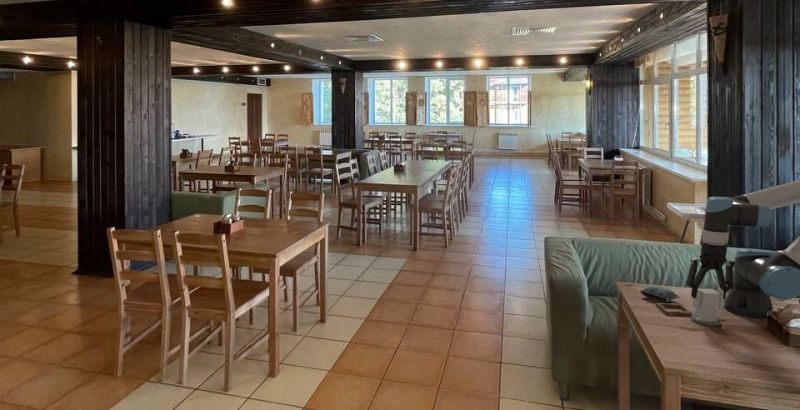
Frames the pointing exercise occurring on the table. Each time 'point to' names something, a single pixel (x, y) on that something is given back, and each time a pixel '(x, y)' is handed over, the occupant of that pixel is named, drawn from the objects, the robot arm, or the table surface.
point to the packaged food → (659, 293)
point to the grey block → (708, 305)
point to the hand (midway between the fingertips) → (706, 307)
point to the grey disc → (704, 321)
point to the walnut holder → (683, 313)
